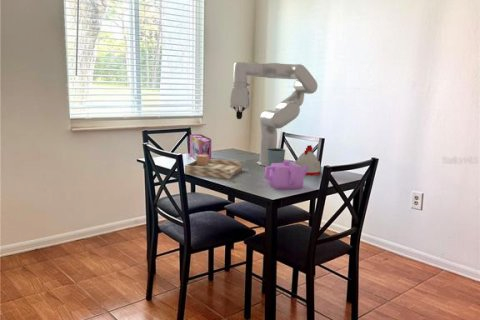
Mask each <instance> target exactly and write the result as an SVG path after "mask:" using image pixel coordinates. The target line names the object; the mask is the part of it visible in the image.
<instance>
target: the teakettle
mask: <svg viewBox="0 0 480 320" xmlns="http://www.w3.org/2000/svg"><path fill="white" fill-rule="evenodd" d="M283 162H284V163H272V164H271V166H264V167H265V168H264V174H263V178H264V179H265V180H267V181H268V185H269V186H271V188H273V189H275V190H279V191H280V190H283V191H284V190H285V191H287V190H301V189H302V188H303V186H304V178H305V176H306V175H305V174H306V172H307V171H308V169H309V167H307V166H305V167H304V168H303V169H302V167H301V166H300V165H298V164H295V162H291V161H290V160H288V159H287V160H285V159H284V161H283Z"/></svg>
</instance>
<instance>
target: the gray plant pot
mask: <svg viewBox="0 0 480 320" xmlns="http://www.w3.org/2000/svg"><path fill="white" fill-rule="evenodd" d="M285 155H286V149H285V148H280V147H279V148H278V147H276V148H269V149H267V166H271V164H272V163H284V162H283V161H284V160H285Z"/></svg>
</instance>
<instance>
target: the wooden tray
mask: <svg viewBox="0 0 480 320" xmlns="http://www.w3.org/2000/svg"><path fill="white" fill-rule="evenodd" d="M196 164H197V160H194V161H192V162H190V163H187V164H185V165H184V175H190V176H198V177H199V176H200V177H209V178H219V179H231V178H233V177H234V176H235V175H237V174H239V173H240V172H241V171H243V161H236V160H235V161H234V160H225V159H224V160H222V159H214V158H213V159H212V158H211V159H209V163H208V165H206V166H201V165H196Z"/></svg>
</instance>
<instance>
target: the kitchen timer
mask: <svg viewBox="0 0 480 320" xmlns="http://www.w3.org/2000/svg"><path fill="white" fill-rule="evenodd" d="M313 148H314V147H312V145H306V148H305V150H304V152H302V153H301V154H300V155H299V157H298V158H297V159H295V162H294V163H295V164H298V165H300V166H301V167H302V169H303V168H304V167H305V166H307V167H309V169H308V171H307V172H306V174H305V176H309V177H310V176H318V175H319V176H320V174H321V161H320V160H319V159H318V158H317V156H316V155H315V154H314V152H312V151H313Z"/></svg>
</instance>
